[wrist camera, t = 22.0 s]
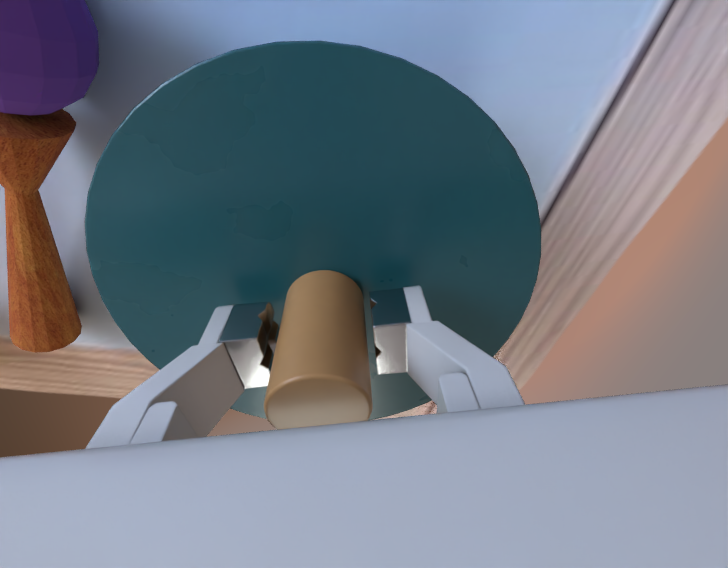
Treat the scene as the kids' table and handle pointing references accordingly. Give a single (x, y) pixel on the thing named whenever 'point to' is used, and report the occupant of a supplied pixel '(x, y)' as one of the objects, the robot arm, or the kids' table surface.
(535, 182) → the kids' table surface
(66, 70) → the kendama
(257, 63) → the lid
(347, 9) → the kids' table surface
